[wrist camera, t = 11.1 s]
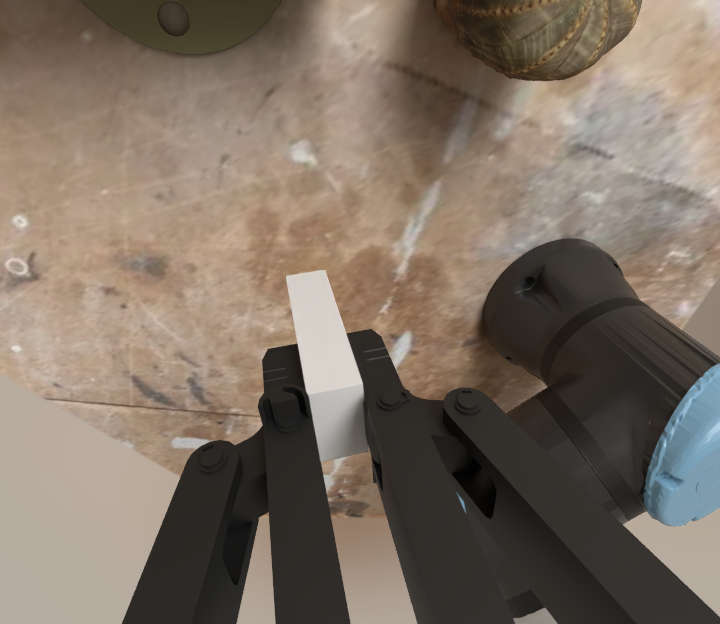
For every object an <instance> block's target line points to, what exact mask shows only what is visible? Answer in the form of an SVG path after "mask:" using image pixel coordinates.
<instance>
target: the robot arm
mask: <svg viewBox="0 0 720 624" xmlns="http://www.w3.org/2000/svg"><path fill="white" fill-rule="evenodd" d="M286 280H287V285H288V291H289V297H290V302H291V308H292V314H293V320H294V325H295V331H296V337H297V342H298V344H293V345H287V346H282V347H277V348H271V349H268V350H267V352H266V354H265V356H264V358H263V360H262V364H263V380H264V394H263V395H262V397H261V398H260V399H259V404H258V409H259V413H260V416H261V420H262V424H263V426H262V427H261V428H260V430H259V431H258V432H257V433H256V434H254V435H253V436H252V437H250V438H249V439H247V440H245V441H243V442H241V443H239V444H237V445H234V444H232V443H230V442H229V441H222V440H218V441H213V442H209V443H207V444H205V445H202V446H200V447H199V448H198V449H197V450H196V451H194V452H193V453H192V454H191V456H190V458H189V459H188V461H187V463H186V465H185V468H184V470H183V473H182V475H181V478H180V480H179V483H178V485H177V488H176V490H175V492H174V495H173V497H172V500H171V503H170V505H169V507H168V510H167V513H166V515H165V518H164V520H163V522H162V525H161V528H160V530H159V533H158V535H157V537H156V540H155V542H154V545H153V548H152V550H151V552H150V555H149V557H148V560H147V562H146V565H145V567H144V570H143V572H142V575H141V578H140V580H139V582H138V585H137V588H136V590H135V592H134V595H133V597H132V600H131V602H130V605H129V607H128V610H127V612H126V615H125V617H124V620H123V622H122V624H236V623H237V618H238V613H239V609H240V604H241V600H242V595H243V590H244V586H245V581H246V576H247V572H248V567H249V563H250V558H251V553H252V548H253V544H254V540H255V535H256V530H257V525H258V521H259V517H261V516H262V515H264V514H266V513H268V512H269V522H270V539H271V555H272V571H273V587H274V604H275V618H276V619H275V620H276V624H350V619H349V613H348V608H347V603H346V598H345V592H344V587H343V581H342V576H341V570H340V564H339V559H338V554H337V548H336V543H335V537H334V532H333V526H332V521H331V515H330V510H329V505H328V499H327V494H326V488H325V483H324V477H323V472H322V466H321V462H323V461H328V460H332V459H337V458H341V457H346V456H350V455H355V454H359V453H363V452H368V445H369V449H370V452H371V456H372V469H373V482H374V483H377V485H378V488H379V492H380V495H381V499H382V502H383V506H384V509H385V513H386V516H387V519H388V522H389V526H390V530H391V533H392V537H393V540H394V544H395V547H396V550H397V554H398V557H399V561H400V564H401V568H402V571H403V575H404V578H405V582H406V585H407V589H408V592H409V596H410V599H411V602H412V605H413V609H414V613H415V616H416V620H417V623H418V624H720V617H719V616H718V615H717V614H716V613H715V612H714V611H713V610H712V609H711V608H709V607H708V606H707V605H706V604H705V603H704V602H703V601H702V600H701V599H700V598H699V597H698V596H697V595H696V594H695V593H694V592H693V591H692V590H691V589H689V588H688V587H687V586H686V585H685V584H684V583H683V582H682V581H681V580H680V579H679V578H678V577H677V576H676V575H675V574H674V573H673V572H672V571H671V570H670V569H669V568H667V567H666V566H665V565H664V564H663V563H662V562H661V561H660V560H659V559H658V558H657V557H656V556H655V555H654V554H653V553H652V552H650V550H649V549H647V548H646V547H645V546H644V545H643V544H642V543H641V542H640V541H639V540H638V539H637V538H636V537H635V536H634V535H633V534H632V533H631V532H630V531H629V530H628V529H627V528H625V527H624V526H623V524H624V523H626V522H627V521H629V520H631V519H633V518H634V517H636V516H638V515H640V514H642V513H644V512H646V511H647V512H648V513H649V514H650V516H651V517H652V518H653V519H656V520H658V521H660V522H661V523H662V524H665V525H668V526H681V525H685V524H686V523H688V522H689V521H691V520H692V521H696V520H699V519H701V518H703V517H705V516H706V515H708V514H710V513H712V512H713V511H715V510H716V509H718V508H719V507H720V357H719V356H717V355H716V354H714V353H713V352H711V351H710V350H709V349H707V348H706V347H705V346H703V345H702V344H700V343H699V342H698V341H696V340H695V339H693V338H692V337H691V336H689V335H688V334H686V333H685V332H684V331H682V330H681V329H679V328H678V327H677V326H675V325H674V324H673V323H671V322H670V321H668V320H667V319H666V318H664V317H663V316H661V315H660V314H659V313H657V312H656V311H654V310H653V309H652V308H650V307H649V306H647V305H646V304H645V303H643V302H642V301H641V300H640V299H639V298H638V296H637V295H636V293H635V292H634V290H633V289H632V287H631V286H630V285H629V283H628V282H627V281H626V280H625V279H624V277H623V273H622V271H621V269H620V267H619V265H618V264H617V262H616V261H615V260H614V259H613V258H612V257H611V256H610V255H609V254H608V253H606V252H605V251H603V250H602V249H600V248H599V247H597V246H596V245H594V244H593V243H591V242H588V241H585V240H581V239H561V240H556V241H552V242H549V243H546V244H543V245H541V246H539V247H537V248H535V249H533V250H531V251H529V252H528V253H526V254H525V255H523V256H522V257H520V258H519V259H518V260H516V261H515V262H514V263H513V264H512V265H511V266H510V267H509V268H508V269H507V270H506V271H505V272H504V273H503V274H502V275H501V277H500V278H499V279H498V280H497V282H496V283H495V285H494V287H493V288H492V290H491V292H490V294H489V296H488V298H487V301H486V304H485V308H484V314H483V325H484V330H485V333H486V336H487V338H488V339H489V341H490V342H491V343H492V345H493V346H494V347H495V349H496V350H497V351H498V352H499V353H500V354H501V355H502V356H503V357H504V358H505V359H507V360H508V361H510V362H512V363H514V364H516V365H519V366H521V367H522V368H524V369H525V370H526V371H528V372H529V373H531V374H532V375H534V376H536V377H537V378H539V379H541V380H542V381H543V382H544V383H545V384H546V385H547V386H548V387H547V388H546V389H544V390H543V391H541V392H540V393H538V394H536V395H534V396H533V397H531V398H529V399H528V400H526V401H525V402H523V403H522V404H520V405H519V406H517V407H515V408H514V409H512V410H511V411H509V412H508V413H505V412H504V411H502V410H501V409H500V408H499V407H498V406H497V405H496V404H495V403H494V402H493V401H492V400H491V399H490V398H489V397H488V396H486V395H485V394H484V393H482V392H481V391H478V390H475V389H472V388H459V389H455V390H452V391H451V392H449V393H448V394H447V395H446V396H445V398H444V400H443V401H442V400H426V399H421V398H418V397H415V396H413V395H412V394H411V393H410V392H409V391H408V390H406V389H405V388H404V387H403V385H402V383H401V381H400V379H399V376H398V374H397V372H396V369H395V367H394V365H393V363H392V360H391V358H390V357H389V353H388V351H387V349H386V347H385V344H384V342H383V340H382V337H381V336H380V335H378V334H377V333H376V332H375V331H373V330H372V329H369V330H363V331H358V332H352V333H347V334H346V331H345V328H344V325H343V322H342V319H341V316H340V313H339V310H338V307H337V304H336V301H335V298H334V295H333V292H332V289H331V286H330V283H329V280H328V277H327V274H326V271H325V270H320V271H314V272H307V273H301V274H295V275H289V276H286Z"/></svg>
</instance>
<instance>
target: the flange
mask: <svg viewBox="0 0 720 624" xmlns="http://www.w3.org/2000/svg"><path fill="white" fill-rule="evenodd" d="M81 1H82V2H83V3H84V4H85V5H86V6H87V7H88V8H89V9H90V10H91V11H92V12H94V13H95V14H96V15H97V16H98V17H100V18H101V19H102V20H103V21H105V22H106V23H107V24H109V25H110V26H112V27H113V28H115V29H116V30H118V31H119V32H121V33H123V34H124V35H126V36H128V37H130V38H132V39H134V40H136V41H138V42H140V43H142V44H145V45H147V46H150V47H153V48H156V49H159V50H163V51H167V52H173V53H180V54H205V53H211V52H216V51H220V50H223V49H226V48H229V47H231V46H233V45H236V44H238V43H240V42H241V41H243V40H245V39H246V38H248V37H249V36H251V35H252V34H253V33H255V32H256V31H257V30H258V29H259V28H260V27H261V26H262V25H263V24H264V23H265V22H266V21H267V20H268V19H269V17H270V16H271V15H272V14H273V12H274V11H275V9H276V8H277V6H278V5H279V3H280V1H281V0H81ZM168 1H173V2H176V3H178V4H180V5H181V6H182V7H183V8H184V9H185V10H186V12H187V14H188V16H189V28H188V30H187V32H186V33H185V34H183V35H181V36H174V35H171V34H169V33H168V32H166V31H165V30H164V29H163V27H162V26H161V24H160V21H159V9H160V7H161V6H162V4H164V3H165V2H168Z"/></svg>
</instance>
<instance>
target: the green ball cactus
mask: <svg viewBox="0 0 720 624" xmlns="http://www.w3.org/2000/svg"><path fill="white" fill-rule="evenodd" d="M641 4H642V0H434V6H435V9H436V11H437V13H438V14H439V16H440V17H441V18H442V20H443V21H444V22H445V24H446V25H447V26H448V27H449V28H450V30H451V31H452V32H453V33H454V34H455V35H456V36H457V37H458V40H459V41H460V43H462V44H463V45H464V46H465V47H466V48H467V49H469V50H470V51H471V53H472V54H473V57H476V58H479V59H480V60H482V61H483V62H484V63H485V65H488V66H490V67H492V68H493V69H495V70H496V71H497V72H500V73H503V74H504V75H505V76H507V77H508V78H510V79H511V78H516V79H522V80H527V81H530V80H532V81H553V80H564V79H567V78H570V77H573V76H575V75H577V74H579V73H580V72H583V71H584V70H585V69H588V68H589V67H591V66H592V65H594V64H595V63H596V62H597V61H598V60H599V59H600V58H601V57H602V56H603V55H604V54H606V53H607V52H608V51H610V50H611V49H612V48H613V47H615V46H616V45H617V44H618V43H620V42H621V41H622V40H623V39H624V38H625V37H626V36H627V35H628V34H629V32H630V31H631V30H632V28H633V27H634V25H635V22H636V19H637V17H638V14H639V11H640V8H641Z"/></svg>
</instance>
